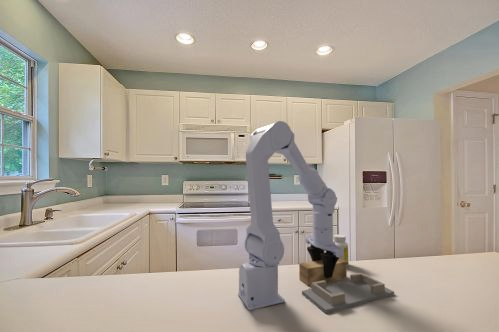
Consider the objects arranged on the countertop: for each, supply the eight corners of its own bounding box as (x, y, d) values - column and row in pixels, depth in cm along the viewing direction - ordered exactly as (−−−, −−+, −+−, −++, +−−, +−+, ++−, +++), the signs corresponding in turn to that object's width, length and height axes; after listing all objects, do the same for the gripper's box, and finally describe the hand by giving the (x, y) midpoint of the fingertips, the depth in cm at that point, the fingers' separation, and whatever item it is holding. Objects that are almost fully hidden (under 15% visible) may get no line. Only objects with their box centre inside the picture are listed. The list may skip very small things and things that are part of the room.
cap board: (325, 313, 50) (325, 300, 51) (301, 294, 59) (301, 282, 59) (394, 294, 59) (394, 283, 59) (364, 280, 67) (364, 270, 67)
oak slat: (307, 287, 63) (307, 268, 63) (299, 280, 67) (299, 263, 67) (346, 278, 68) (346, 261, 68) (336, 273, 72) (336, 257, 72)
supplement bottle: (345, 261, 81) (345, 234, 82) (350, 267, 76) (350, 238, 76) (329, 261, 82) (329, 233, 82) (334, 267, 76) (333, 237, 77)
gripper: (352, 232, 63) (352, 282, 62) (317, 222, 76) (318, 263, 76) (331, 234, 60) (332, 286, 60) (300, 223, 74) (300, 266, 73)
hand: (323, 274), depth 68 cm, fingers closed on oak slat, 4 cm apart
